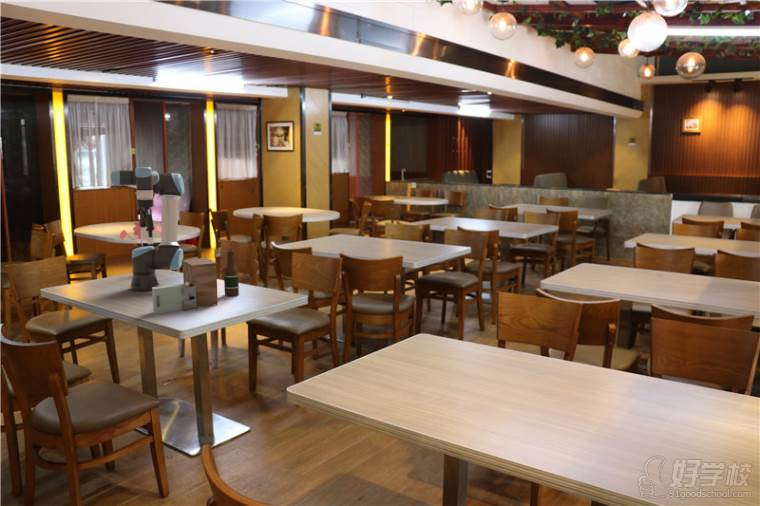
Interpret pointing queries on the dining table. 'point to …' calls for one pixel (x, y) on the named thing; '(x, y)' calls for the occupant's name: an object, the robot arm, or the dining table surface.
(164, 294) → the door
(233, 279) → the beer bottle
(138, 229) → the red flower bouquet
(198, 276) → the cabinet
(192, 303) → the grey open frame
